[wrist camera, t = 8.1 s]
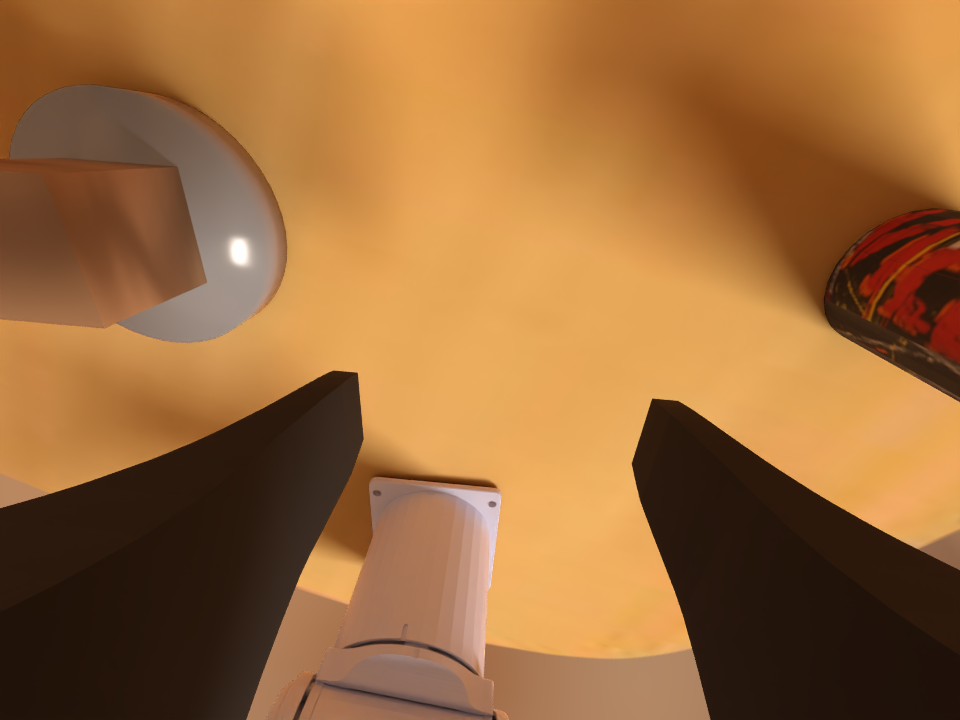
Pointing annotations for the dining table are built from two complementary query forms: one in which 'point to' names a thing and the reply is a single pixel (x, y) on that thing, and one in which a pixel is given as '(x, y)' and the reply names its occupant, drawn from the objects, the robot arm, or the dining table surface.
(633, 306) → the dining table surface
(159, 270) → the walnut block
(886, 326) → the deodorant
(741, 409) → the dining table surface
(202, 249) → the grey disc
